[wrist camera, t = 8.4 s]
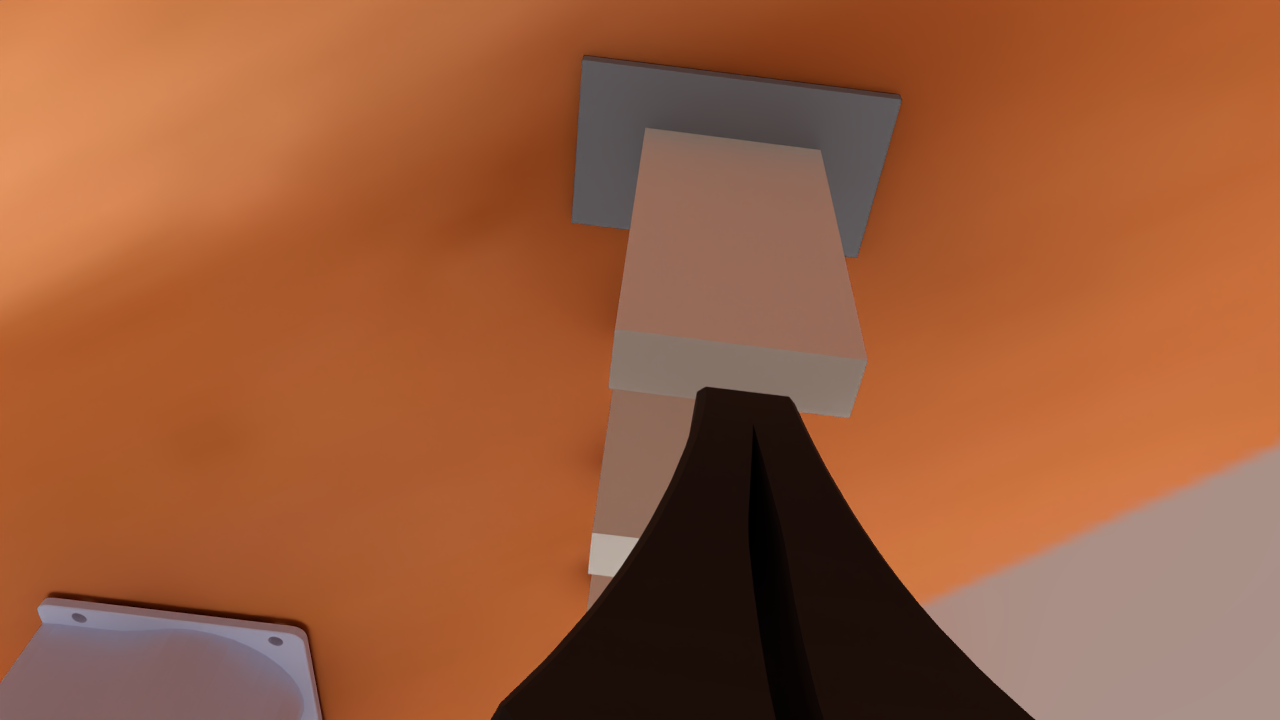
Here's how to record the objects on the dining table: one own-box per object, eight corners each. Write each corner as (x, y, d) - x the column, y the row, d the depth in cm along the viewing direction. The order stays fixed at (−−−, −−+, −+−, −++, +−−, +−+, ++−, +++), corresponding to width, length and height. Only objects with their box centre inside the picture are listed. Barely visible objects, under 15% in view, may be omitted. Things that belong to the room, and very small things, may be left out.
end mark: (573, 217, 23) (571, 222, 22) (583, 55, 20) (582, 59, 20) (855, 251, 23) (856, 257, 23) (899, 94, 20) (901, 99, 20)
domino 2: (639, 176, 22) (608, 388, 15) (645, 127, 21) (615, 328, 14) (809, 197, 22) (849, 418, 15) (820, 150, 21) (867, 360, 15)
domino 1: (620, 342, 25) (587, 573, 18) (624, 305, 24) (592, 533, 18) (767, 360, 25) (786, 597, 18) (776, 323, 24) (798, 557, 18)
